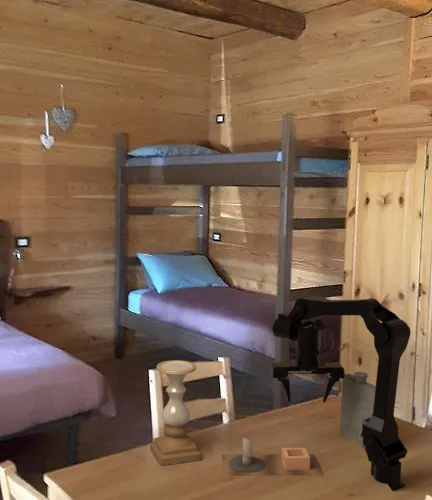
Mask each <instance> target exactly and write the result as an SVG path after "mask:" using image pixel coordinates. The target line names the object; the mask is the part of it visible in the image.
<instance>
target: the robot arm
mask: <svg viewBox="0 0 432 500" xmlns="http://www.w3.org/2000/svg"><path fill="white" fill-rule="evenodd" d="M325 316H360V317H361V318H362V319H363V322H364V324H365V327H366V329H367V331H368V332H370V334H371V335H372V336H373V346H374V348H375V351H376V353H377V355H378V361H377V369H376V370H377V371H376V380H375V381H376V382H375V386H376V388H375V397H374V407H373V414H372V416H371V417H370V418H368V419H365V420H363V423H362V428H363V429H362V434H361V437H362V436H363V445H364V446H365V448H366V451H365V453H366V456H367V459H368V462H369V463H371V464H370V475H371V476H372V477H373V479H374V480H375V481H376V482H378V483H381V484H384V485H385V484H386V485H388V487H389V489H390V490H391V491H395V490H397V489H401V488H403V487H405V485H406V484H405V483H404V482H402V481H401V476H402V462H401V461H400V460H402V459H405V458H406V455H408V450H407V448H406V446H405V445H404V443H403V441H402V440H401V439H400V437H399V426H398V424H397V421H396V419H395V416H394V415H395V405H396V396H397V387H398V382H399V380H398V378H399V372H400V371H399V370H400V361H401V358H402V356H403V354H404V352H406V349H407V348H408V345H409V344H408V343H409V340H410V337H411V327H410V326H409V325H408V323H407V322H406V321H404V320H403V319H401V318H400V317H399V316H398V315H397V314H396V313H395V312H393V311H391V310H390V309H388V308H387V307H385V306H384V305H382V303H380V302H379V300H377V299H376V298H372V297H371V298H365V299H363V298H362V299H329V298H327V297H324V296H318V295H313V296H304V297H300V298H297V299H296V300H295V302H294V305H293V307H292V309H291V310H290V312H289V313H286V312H282V313H281V312H280V313H278V314H277V318H276V319H275V321H274V322H273V325H272V326H271V327H272V329H271V330H272V333H273V336H275V337H276V338H279V339H284V340H287V341H291V342H295V341H296V347H288V348H287V349H288V350H287V360H288V361H294V365H293V366H291V365H290V366H288V364H287V362H272V363H271V365H270V373H271V376H272V378H273V379H277V381H278V382H281V384H282V385H283V387H284V391H285V392H284V393H285V394H286V398H287V401H288V403H290V404H291V399H292V398H291V396H292V395H291V387H290V378H289V375H295V374H296V375H324V385H323V393H322V402H323V403H326V402H327V400H328V397H329V395H330V392H331V391H332V389H333V387H334V386H335V384H336V383H338V382H340V379H341V380H342V379H343V378H345V374H346V373H345V372H346V370H345V368H344V367H343V365H342V364H341V363H340V362H326V364H325V366H319V359H320V358H319V356H320V355H319V354H320V348H319V347H320V331H323V330H326V329H327V326H326V325H325V323H324V322H322V320H321V319H316V318H321V317H325ZM311 319H316V320H314V321H312V320H311ZM303 321H304V322H303Z"/></svg>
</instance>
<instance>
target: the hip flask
mask: <svg viewBox="0 0 432 500" xmlns="http://www.w3.org/2000/svg"><path fill="white" fill-rule="evenodd" d="M367 379H368V373H366V372H363V371H355V372H354V373H353V374H351V373H345V378H343V379H341V381H342V382H341V397H340V399H341V403H340V422H339V423H340V424H339V425H340V426H339V434H340V435H341V434H342V435H343V434H344V435H345V436H347V437H348V438H350V439H351V440H352V441H355V442H356V443H358V444H360V446H361V447H362V448H363V449H364V451H365V452H366V448H365V446H364V445H363V436H362V437H361V434H362V429H363V428H362V423H363V420H365V419H368V418H370V417H371V416H372V414H373V407H374V397H375V388H376V384H375V385H374V384H371V383H369V382H367Z"/></svg>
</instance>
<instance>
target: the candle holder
mask: <svg viewBox="0 0 432 500" xmlns="http://www.w3.org/2000/svg"><path fill="white" fill-rule="evenodd" d="M156 370H157V371H158V372H159V373H161V374H165V376H166V377H167V378H168V381H169V384H168V386H167V387H166V389H165V391H166V393H167V395H168V397H169V399H168V402H167V404H166V405H165V407H164V408H163V410H162V412H161V420H162V422H164V424H165V426H164V427H163V432H164V435H163V436H160V437H159V436H158V437H154V438H153V441H151V442H150V444H149V446H150V447H149V450H151V451H150V452H151V454H152V453H153V454H152V455H153V457H154V456H155V457H154V458H155V460H156V459H157V460H156V462H159V463H160V464H159V463H158V464H159V465H160V466H161V465H165V466H169V465H168V464H173V465H175V464H174V463H180V464H183V463H182V462H187V463H191V462H190V461H194V462H199V461H198V460H200V461H201V460H202V452H201V451H200V450H199V449H198V445H197V444H196V442H195V441H194V440H193V439H192V438H191V437H190V436H189V435H188V434H187V433H188V426H187V425H186V424H187V423H188V422H189V421H190V419H191V418H190V417H191V415H190V414H191V413H190V411H189V408H188V407H187V405H186V404H185V402H184V399H183V396H184V394H185V392H187V388H186V387H185V384H184V380H185V378H186V376H187V375H189V374H192V373H194V372H195V371H196V370H197V366H196V364H195V363H194V362H191V361H187V360H181V359H178V360H177V359H176V360H174V359H173V360H165V361H161V362H159V363H158V364H156Z"/></svg>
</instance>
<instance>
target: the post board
mask: <svg viewBox="0 0 432 500" xmlns="http://www.w3.org/2000/svg"><path fill="white" fill-rule="evenodd" d="M253 442H254V441H253V438H252V437H247V436H246V437H243V438H242V453H241V454H236V453H235V454H228V453H227V454H226V453H225V454H223V453H222V454H221V460H222V461H221V462H222V468H223V473H224V474H223V475H224V476H227V477H228V476H229V477H231V476H237V477H238V476H242V477H243V476H244V477H245V476H252V477H253V476H255V477H256V476H325V474H324V472H323V470H322V467H321V465H320V464H319V462H318V459H317V457H316V455H315V454H313V453H310V454H309V453H308V455H309V457H310V469H309V470H285V468H284V465H283V462H282V459H281V457H282V453H280V454H276V453H275V454H274V453H273V454H272V453H271V454H267V453H265V454H264V453H262V454H259V453H258V454H257V453H256V454H255V453H253V447H254V446H253V445H254V443H253Z"/></svg>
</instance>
